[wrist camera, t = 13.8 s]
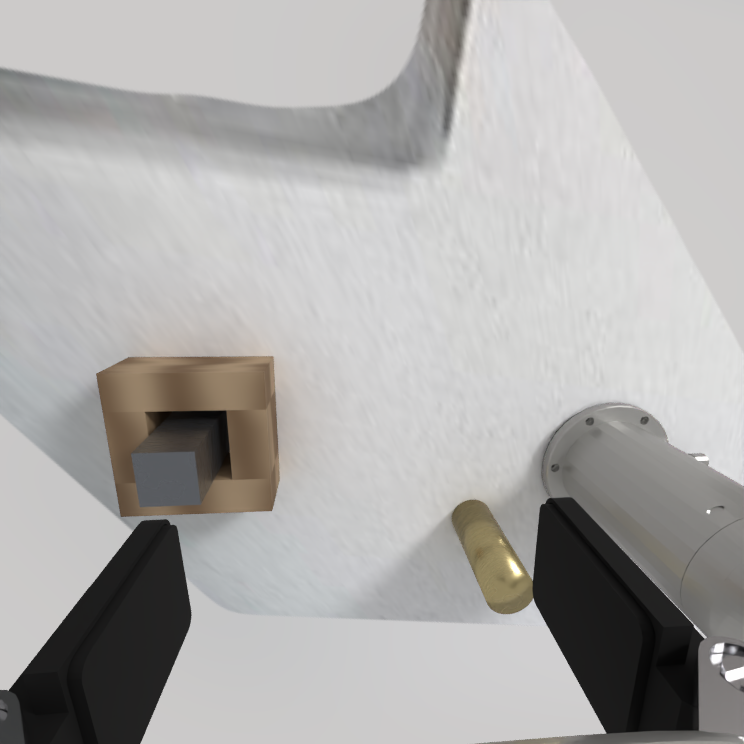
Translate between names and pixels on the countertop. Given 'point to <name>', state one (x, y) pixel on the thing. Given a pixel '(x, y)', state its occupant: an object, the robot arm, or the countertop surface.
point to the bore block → (196, 393)
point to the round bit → (492, 558)
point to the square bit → (181, 458)
